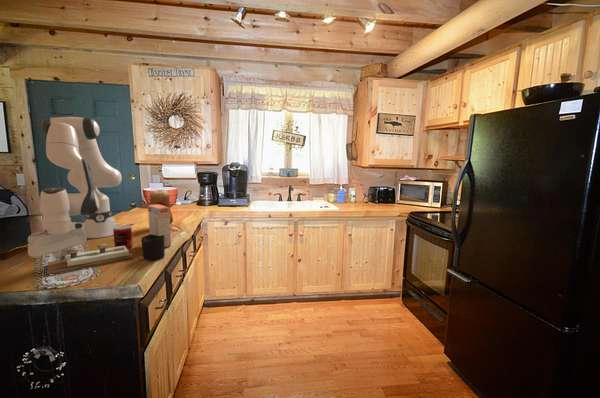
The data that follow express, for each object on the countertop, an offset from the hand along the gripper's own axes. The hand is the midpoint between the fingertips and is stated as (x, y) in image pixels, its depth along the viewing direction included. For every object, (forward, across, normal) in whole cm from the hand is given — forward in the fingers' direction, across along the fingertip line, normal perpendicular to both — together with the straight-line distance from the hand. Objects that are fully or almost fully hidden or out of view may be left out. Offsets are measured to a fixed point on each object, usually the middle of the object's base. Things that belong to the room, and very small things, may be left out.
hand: (61, 260), depth 114 cm
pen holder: (+3, +20, -28) cm, 34 cm away
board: (+3, +8, -6) cm, 11 cm away
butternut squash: (+3, +66, +6) cm, 66 cm away
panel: (+2, +10, -7) cm, 13 cm away
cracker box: (+3, +37, -17) cm, 41 cm away
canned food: (+3, +27, -4) cm, 28 cm away
